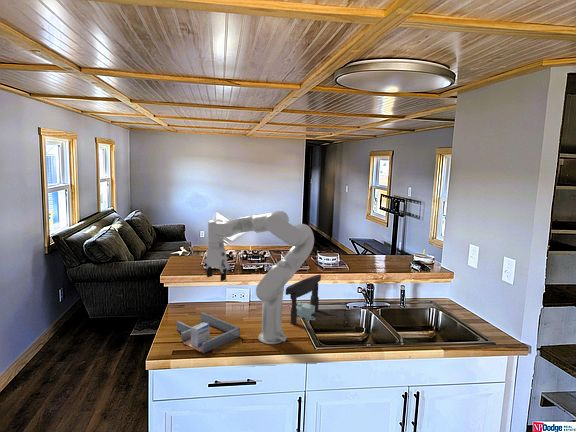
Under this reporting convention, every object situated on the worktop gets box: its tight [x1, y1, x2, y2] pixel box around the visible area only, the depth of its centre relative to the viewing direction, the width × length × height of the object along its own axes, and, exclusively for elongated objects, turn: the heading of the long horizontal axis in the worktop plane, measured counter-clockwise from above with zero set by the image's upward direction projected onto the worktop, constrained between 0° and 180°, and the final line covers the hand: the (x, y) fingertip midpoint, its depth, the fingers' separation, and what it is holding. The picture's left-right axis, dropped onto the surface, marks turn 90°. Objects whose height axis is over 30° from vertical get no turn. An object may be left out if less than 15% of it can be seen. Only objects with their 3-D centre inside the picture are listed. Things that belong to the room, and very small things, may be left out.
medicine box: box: [191, 321, 211, 347], centre depth 187 cm, size 8×4×9 cm, turn 147°
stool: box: [285, 274, 322, 325], centre depth 221 cm, size 16×21×33 cm
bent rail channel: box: [176, 311, 241, 354], centre depth 196 cm, size 28×22×4 cm
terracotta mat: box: [182, 339, 202, 353], centre depth 188 cm, size 13×10×1 cm
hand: (216, 278), depth 200 cm, fingers open, 9 cm apart
